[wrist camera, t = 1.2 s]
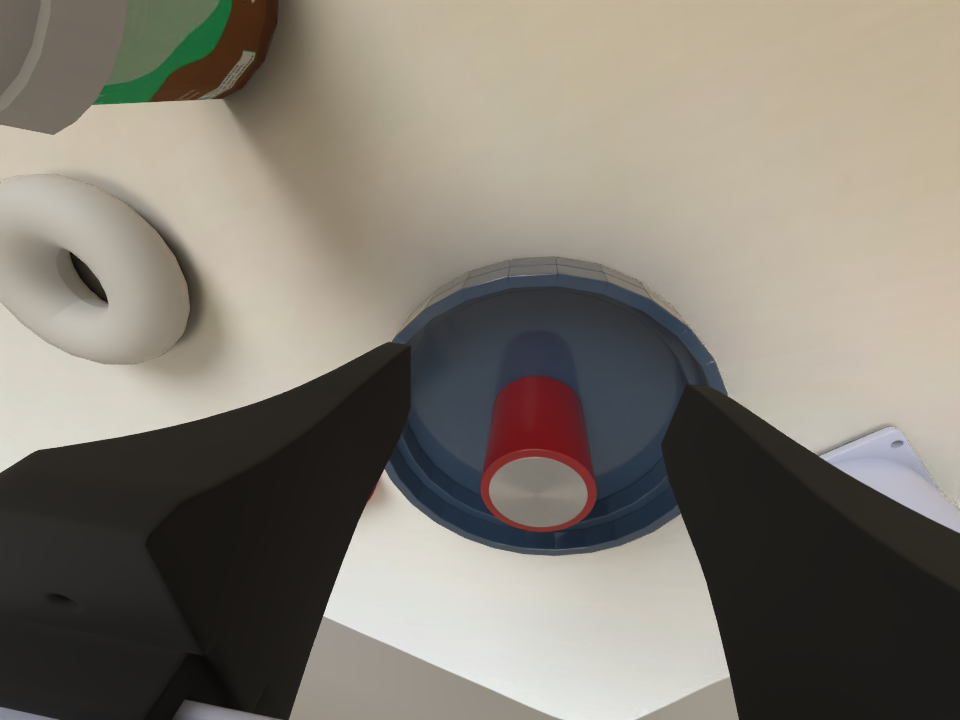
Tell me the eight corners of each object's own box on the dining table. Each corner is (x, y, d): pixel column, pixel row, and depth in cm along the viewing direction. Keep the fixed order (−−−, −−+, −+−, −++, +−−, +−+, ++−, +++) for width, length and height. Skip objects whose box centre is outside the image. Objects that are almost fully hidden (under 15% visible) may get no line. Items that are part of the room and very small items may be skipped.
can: (601, 419, 23) (621, 503, 17) (531, 460, 25) (530, 546, 19) (543, 358, 21) (545, 430, 16) (474, 407, 23) (456, 485, 18)
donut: (211, 223, 20) (8, 133, 19) (157, 239, 17) (-89, 133, 16) (201, 371, 25) (39, 306, 24) (157, 403, 22) (-31, 330, 21)
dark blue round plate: (769, 431, 22) (800, 470, 19) (521, 549, 29) (519, 588, 27) (564, 168, 17) (570, 173, 14) (329, 391, 24) (304, 421, 22)
